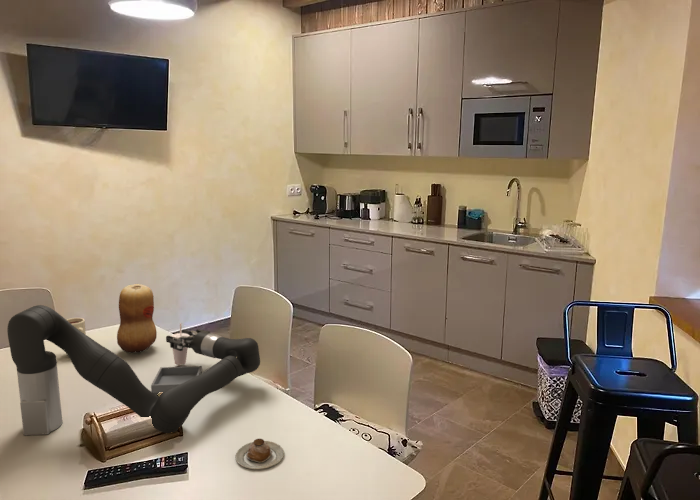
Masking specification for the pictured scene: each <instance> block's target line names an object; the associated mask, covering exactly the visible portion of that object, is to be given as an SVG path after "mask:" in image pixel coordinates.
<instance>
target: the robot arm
mask: <svg viewBox="0 0 700 500" xmlns="http://www.w3.org/2000/svg"><path fill="white" fill-rule="evenodd" d="M182 333H186V334H189V335H190V336H181V337H180V338H177V337H172V336H171V335H166V337H165V340H166V341H165V342H166V343H169V345H170V348H171V349H172V350H173V349H176V350H179V351H183V348H184V347H187V348H188V349H192V350H193V352H195V354H198V355H201V356H205V357H209V358H213V359H218V360H219V361H217V362H216V363H214V364H213V365H211V366H210V367H208V368H207V369H206V370H205V371H202V373H201V374H200V375H198V376H196V377H194V378H192V379H190V380H188V381H186V382H184V383H182V384H179V385H177V386H175V387H173V388H170V389H168V390H167V391H165V392H163V393H162V394H161V395H160V396H157V395H156V394H154V393H153V392H151V390H150V389H148V388H147V387H146V386H145V385H144V384H143V383H142V381H141V380H140V378H139V376H138V375H137V374H136V372H135V371H134V370H133V367H131V366H130V364H129V363H128V362H127V361H126V360H124V359H123V358H122V357H121V356H119V355H118V354H116V353H114V352H113V351H111V350H110V349H109V348H107V347H105V346H103V345H102V344H100V343H99V342H97V341H96V340H95V339H93V338H91V337H90V336H89V335H85V334H84V333H82V332H81V331H79V330H78V329H77V328H76V327H74V326H73V325H72V324H71V323H69V322H68V321H67V319H66V318H65V317H63V316H62V314H60V313H58V312H57V311H56V310H55V309H53V308H51V307H49V306H48V305H47V306H46V305H42V304H37V305H33V306H32V307H31V306H30V307H28V308H27V309H24V310H22V311H20V312H18V313H16V314H14V315H12V317H10V319H9V321H8V323H7V339H8V344H9V350H10V355H11V359H12V361H13V363H14V365H15V366H16V372H17V383H18V393H19V400H20V402H19V404H20V413H21V421H22V422H21V423H22V430H23V436H35V435H49V434H50V433H51V432H53V431H56V430H57V429H58V428H59V427H61V426H62V424H63V414H62V404H61V403H62V402H61V393H60V384H59V383H60V381H59V372H58V371H59V370H58V361H57V354H56V353H55V352H52V351H51V350H50V351H49V350H46V347H45V346H46V345H45V340H46V341H48V342H51V343H52V344H54V345H55V346H56V347H58V348H60V349H61V350H62V351H63V352H64V353H65V354H66V356H67V357H68V358H69V359H70V362H71V363H72V366H73V367H74V369H75V371H76V372H77V373H78V375H79V376H80V377H81V378H83V379H84V380H85V381H87V382H88V383H90V384H92V385H93V386H95V387H96V388H98V389H99V390H101V391H103V392H105V393H106V394H107V395H109V396H111V397H112V398H113V399H115V400H116V401H118V402H120V403H121V404H123V405H124V406H126V407H127V408H129V409H130V410H131V411H132V412H134V413H135V414H136V415H138V416H139V417H140V418H141V417H149V416H151V418H152V424H153V426H154V427H153V429H155V430H157V431H158V432H161V433H165V434H172V433H171V432H173V433H176V432H177V431H178V428H179V427H180V426H181V427H182V426H183V424H184V423H185V422H186V420H187V418H188V417H189V415H190V414H191V411H192V410H193V408H195V407H196V405H198V404H199V402H201V400H202V399H204V398H205V397H206V396H207V395H210V394H211V393H213V392H216V391H218V390H221V389H223V388H224V387H226V386H228V385H229V384H230V383H231V382H233V381H234V380H236V379H237V378H238V377H242V376H243V375H247V374H249V373H253V372H255V371H257V370H258V369H259V368H260V365H261V356H260V348H259V345H258V344H259V343H258V342H257V341H256V340H255V339H253V338H251V337H245V338H229V337H224V336H221V335H220V334H216V333H212V332H211V331H210V330H209V331H208V330H204V329H199V328H198V329H197V328H196V330H188V329H182ZM183 339H184V344H183ZM177 340H179V341H180V342H179V341H177ZM181 427H180V428H181ZM175 431H176V432H175Z"/></svg>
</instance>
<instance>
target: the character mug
mask: <svg viewBox="0 0 700 500" xmlns="http://www.w3.org/2000/svg"><path fill="white" fill-rule="evenodd" d="M66 320H67V321H68V322H69V323H71V324H72V325H73V326H74V327H76V328H77V329H78V330H79V331H81V332H82V333H84V334H85V335H86V332H87V331H86V323H85V322H86V320H85V318H82V317H71V318H67V319H66Z"/></svg>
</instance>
